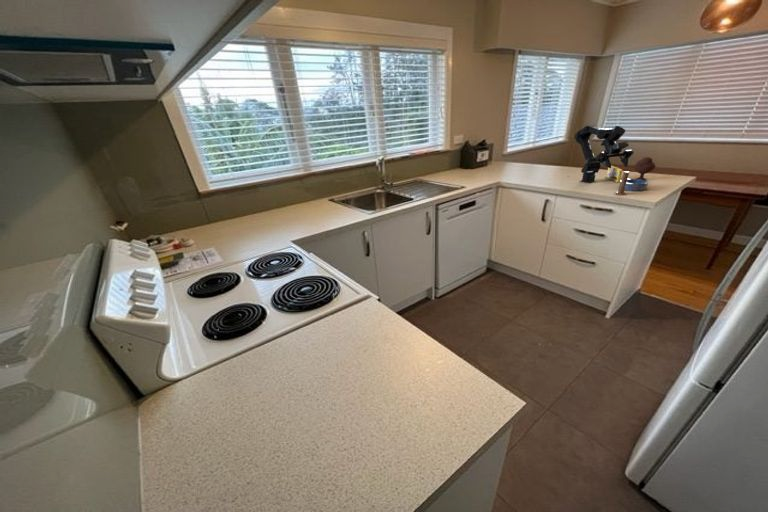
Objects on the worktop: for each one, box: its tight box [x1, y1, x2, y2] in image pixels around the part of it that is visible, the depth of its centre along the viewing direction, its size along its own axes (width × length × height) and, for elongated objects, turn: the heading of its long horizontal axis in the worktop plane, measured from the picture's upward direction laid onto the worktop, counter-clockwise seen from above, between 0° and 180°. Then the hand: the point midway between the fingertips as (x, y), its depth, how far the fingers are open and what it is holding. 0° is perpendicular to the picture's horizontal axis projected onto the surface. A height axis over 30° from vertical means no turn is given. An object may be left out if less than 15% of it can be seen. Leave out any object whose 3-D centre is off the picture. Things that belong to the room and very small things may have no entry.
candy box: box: [606, 164, 624, 183], centre depth 204 cm, size 16×2×8 cm, turn 168°
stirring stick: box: [615, 170, 630, 196], centre depth 173 cm, size 4×4×13 cm
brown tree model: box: [633, 156, 657, 181], centre depth 196 cm, size 11×11×15 cm
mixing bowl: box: [618, 178, 649, 192], centre depth 182 cm, size 13×13×4 cm
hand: (618, 167), depth 177 cm, fingers open, 9 cm apart
